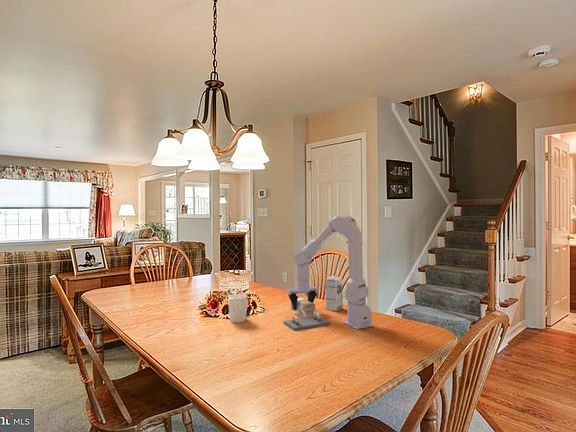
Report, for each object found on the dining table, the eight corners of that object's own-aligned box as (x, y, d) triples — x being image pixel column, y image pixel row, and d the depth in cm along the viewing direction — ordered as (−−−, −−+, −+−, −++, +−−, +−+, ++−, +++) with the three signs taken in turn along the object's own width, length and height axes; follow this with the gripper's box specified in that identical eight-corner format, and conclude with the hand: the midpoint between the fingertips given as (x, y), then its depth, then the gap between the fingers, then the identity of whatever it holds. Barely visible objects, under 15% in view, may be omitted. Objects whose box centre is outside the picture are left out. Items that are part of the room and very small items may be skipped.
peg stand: (317, 318, 154) (317, 308, 154) (329, 324, 146) (329, 314, 146) (283, 323, 147) (283, 313, 147) (294, 330, 139) (294, 320, 139)
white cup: (224, 321, 150) (224, 297, 149) (235, 316, 157) (235, 293, 156) (240, 324, 146) (240, 299, 146) (251, 318, 153) (251, 295, 153)
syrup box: (336, 311, 164) (336, 279, 163) (325, 309, 167) (325, 277, 167) (342, 308, 168) (342, 277, 168) (331, 306, 172) (331, 275, 172)
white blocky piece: (315, 316, 156) (315, 304, 156) (305, 318, 154) (306, 305, 154) (299, 308, 169) (299, 296, 169) (290, 309, 167) (290, 297, 167)
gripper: (312, 275, 168) (312, 304, 168) (283, 278, 161) (283, 308, 162) (320, 278, 162) (320, 308, 162) (291, 281, 155) (291, 313, 156)
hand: (302, 309), depth 162 cm, fingers open, 7 cm apart
